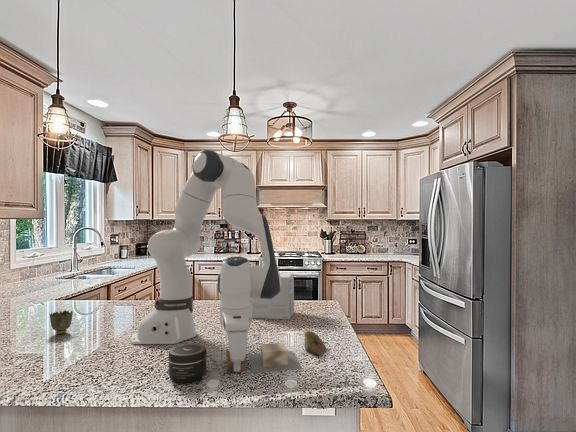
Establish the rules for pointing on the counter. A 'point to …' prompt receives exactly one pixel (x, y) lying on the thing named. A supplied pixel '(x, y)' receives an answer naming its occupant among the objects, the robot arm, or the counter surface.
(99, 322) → the counter surface
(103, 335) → the counter surface
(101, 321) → the counter surface
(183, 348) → the jar
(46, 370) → the counter surface
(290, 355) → the build plate
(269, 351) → the maple base
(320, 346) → the fossil
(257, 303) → the supplement box
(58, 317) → the cup
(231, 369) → the walnut cube
